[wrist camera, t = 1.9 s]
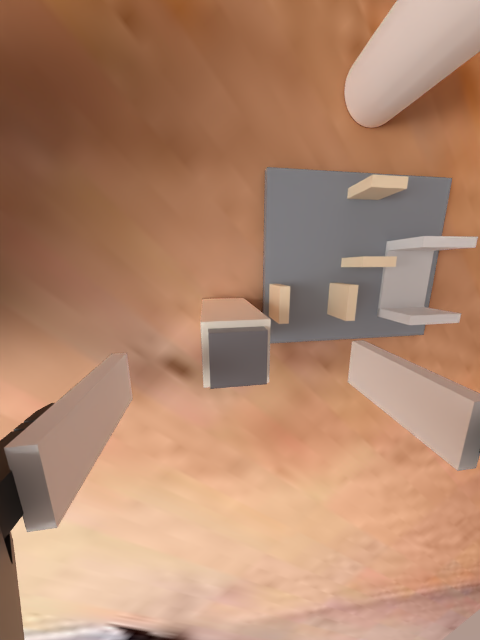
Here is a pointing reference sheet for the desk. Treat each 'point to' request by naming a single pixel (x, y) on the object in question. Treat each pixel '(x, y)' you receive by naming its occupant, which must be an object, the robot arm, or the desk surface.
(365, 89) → the mug
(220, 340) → the block
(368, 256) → the board
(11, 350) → the desk surface
